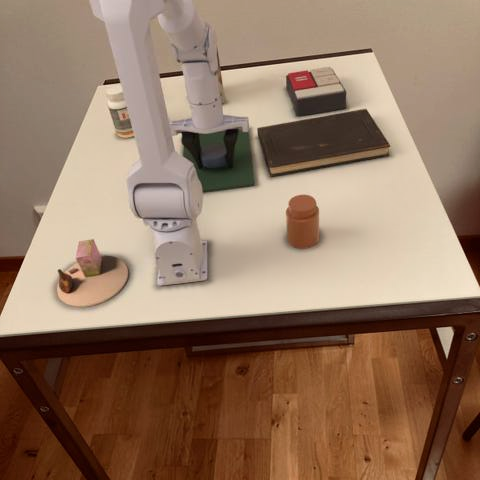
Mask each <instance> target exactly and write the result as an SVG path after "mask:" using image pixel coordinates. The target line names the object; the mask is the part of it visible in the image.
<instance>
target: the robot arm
mask: <svg viewBox="0 0 480 480" xmlns="http://www.w3.org/2000/svg"><path fill="white" fill-rule="evenodd" d="M88 2H89V4H90V7H91V10H92V15H93V17H95V18H97V19H98V20H100V21H102V22H103V23H104V25H105V29H106V32H107V36H108V40H109V44H110V48H111V51H112V56H113V60H114V63H115V68H116V71H117V75H118V78H119V83H120V85H121V87H122V91H123V94H124V98H125V102H126V106H127V110H128V114H129V117H130V121H131V125H132V129H133V133H134V136H133V138H134V140H135V145H136V148H137V153H138V155H139V158H138V160H136V161H135V162H134V163H133V164H132V166H131V167H130V168H129V170H128V172H127V175H126V177H125V181H126V186H127V198H128V199H127V200H128V206H129V209H130V211H131V213H132V214H133V215H134V216H135V217H134V218H136V219H139V220H142V221H143V224H144V226H147V227H149V229H150V233H151V236H152V238H153V241H154V259H155V262H156V264H157V265H156V266H157V268H158V269H157V278H156V284H157V286H160V287H161V286H168V285H170V286H171V285H176V284H177V285H178V284H186V283H187V284H188V283H194V282H203V281H207V279H208V241H207V240H202V238H201V232H200V229H199V225H198V220H197V219H198V217H199V216H200V215H201V213H202V211H203V204H204V192H203V191H202V185H201V182H200V181H199V179H198V176H197V173H196V169H195V167H194V164H193V163H192V162H191V161H189V160H188V159H186V158H185V157H183V154H180V153H179V152H177V151H176V149H175V144H174V139H173V136H178V135H179V134H180V135H181V139H180V141H181V144H182V146H183V147H184V146H185V147H186V148H187V150H188V151H189V152H190V153H191V155H192V156H193V158H194V160H195V161H196V163H197V165H198V168H199V169H202V168H203V165H202V164H201V159H200V151H201V146H200V138H199V133H202V134H208V133H214V132H218V131H226V132H225V135H224V138H223V140H224V144H225V147H226V151H227V158H228V166H229V168H233V164H234V149H235V144H236V141H237V137H238V134H239V130H242V132H248V133H249V130H250V122H249V120H250V119H249V116H236V115H229V114H224V110H223V105H222V104H223V103H221V96H220V90H219V83H218V77H217V67H218V59H217V49H218V41H217V40H218V39H217V33H216V29H215V27H214V25H210V23H209V22H208V21H203V18H202V17H201V15H200V13H199V11H198V9H197V7H196V6H195V3H194V2H193V0H88ZM155 18H157V22H158V24H159V26H160V27H161V29H162V31H164V33H165V34H166V36H167V37H168V39H169V45H170V47H171V50H172V54H173V58H174V61H175V62H177V63H178V64H180V63H181V69H182V70H181V71H182V74H183V79H184V85H185V89H186V94H187V100H188V104H189V108H190V109H189V110H190V115H191V117H188V118H184V119H179V120H177V119H176V120H172V121H171V122H170V119H169V114H168V110H167V104H166V101H165V100H166V99H165V95H164V92H163V86H162V81H161V76H160V71H159V67H158V66H159V65H158V62H157V61H158V60H157V56H156V52H155V49H154V48H155V47H154V41H153V38H152V32H151V24H152V20H154V19H155Z"/></svg>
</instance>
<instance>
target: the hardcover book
mask: <svg viewBox="0 0 480 480" xmlns="http://www.w3.org/2000/svg"><path fill="white" fill-rule="evenodd" d="M256 130H257V139H258V141H259V144H260V147H261V151H262V154H263V158H264V161H265V164H266V167H267V171H268V174H269V177H270V178H273V177H278V176H285V175H289V174H296V173H301V172H307V171H313V170H318V169H324V168H329V167H335V166H341V165H347V164H353V163H358V162H365V161H369V160H376V159H381V158H386V157H387V158H388V157H390V153H389V148H390V147H391V144H390V143H389V141H388V140H387V138H386V137H385V135H384V134H383V132H382V130H381V129H380V128H379V126H378V125H377V122H376V121H375V119H374V118H373V117H372V115H371V113H370V112H369V111H368V108H362V109H356V110H355V109H354V110H350V111H344V112H339V113H333V114H328V115H322V116H316V117H310V118H305V119H300V120H294V121H288V122H281V123H276V124H272V125H266V126H261V127H257V128H256Z"/></svg>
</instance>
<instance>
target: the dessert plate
mask: <svg viewBox="0 0 480 480" xmlns="http://www.w3.org/2000/svg"><path fill="white" fill-rule="evenodd" d="M75 259H76V261H77V262H76V263H74V264H73V265H71V266H70V267H68V268H67V270H65V271H63V270H62V269H61V268H59V269H57V273H58V277H59V278H58V283H57V286H56V290H57V291H56V293H57V296H58V298H59V300H60V301H62V302H63V303H65V304H66V305H68V306H71V307H77V308H89V307H94V306H98V305H100V304H103V303H106V302H107V301H110V300H111V299H113V298H114V297H116V296H117V295H118V294H120V292H122V290H123V289H124V288H125V286H126V285H127V283H128V281H129V278H130V268H129V267H128V265H127V263H126V262H125V261H124V260H122V259H121V258H118V257H116V256H113V255H107V254H105V255H104V254H102V255H101V253H100V251H99V248H98V246H97V243H96V241H95V239H86V240H85V239H84V240H79V241H78V245H77V250H76V255H75Z"/></svg>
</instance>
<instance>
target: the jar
mask: <svg viewBox="0 0 480 480" xmlns="http://www.w3.org/2000/svg"><path fill="white" fill-rule="evenodd" d="M285 219H286V221H285V222H286V235H287V237H286V238H287V242H288V243H289V245H290V246H291V247H294V248H297V249H308V248H312V247H314V246H316V245H317V244H318V243H319V241H320V208H319V206H318V205H317V200H316V199H315V198H314V196H312V195H308V194H297V195H295V196H292V197H291V198H290V199H289V201H288V207H287V208H286V210H285Z"/></svg>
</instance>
